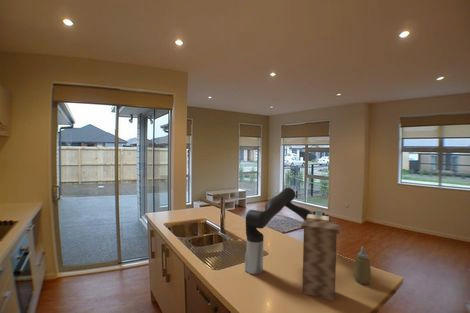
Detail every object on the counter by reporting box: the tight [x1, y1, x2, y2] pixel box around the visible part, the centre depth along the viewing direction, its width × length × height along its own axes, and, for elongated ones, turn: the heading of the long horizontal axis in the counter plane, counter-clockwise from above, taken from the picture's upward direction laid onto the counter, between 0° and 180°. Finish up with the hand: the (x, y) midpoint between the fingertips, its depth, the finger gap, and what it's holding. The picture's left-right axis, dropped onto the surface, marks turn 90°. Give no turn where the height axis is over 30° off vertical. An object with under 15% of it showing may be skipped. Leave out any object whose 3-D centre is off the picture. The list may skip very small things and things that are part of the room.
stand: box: [301, 219, 340, 302], centre depth 112 cm, size 16×9×32 cm, turn 68°
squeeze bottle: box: [353, 246, 372, 285], centre depth 123 cm, size 8×8×18 cm
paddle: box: [306, 210, 330, 223], centre depth 132 cm, size 11×18×4 cm, turn 158°
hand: (318, 213), depth 136 cm, fingers closed on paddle, 3 cm apart
